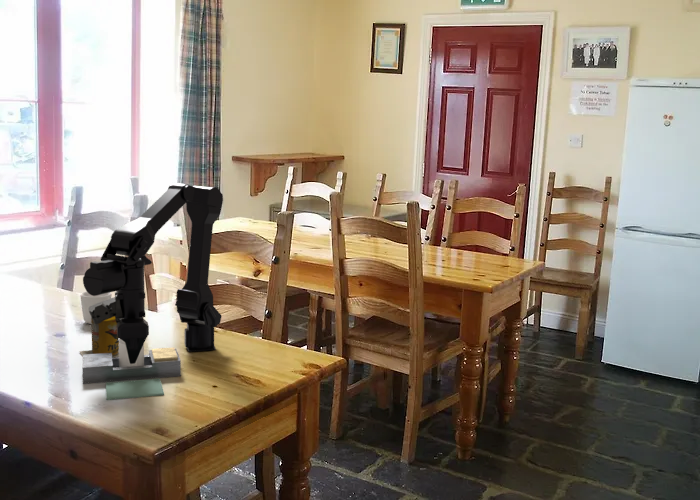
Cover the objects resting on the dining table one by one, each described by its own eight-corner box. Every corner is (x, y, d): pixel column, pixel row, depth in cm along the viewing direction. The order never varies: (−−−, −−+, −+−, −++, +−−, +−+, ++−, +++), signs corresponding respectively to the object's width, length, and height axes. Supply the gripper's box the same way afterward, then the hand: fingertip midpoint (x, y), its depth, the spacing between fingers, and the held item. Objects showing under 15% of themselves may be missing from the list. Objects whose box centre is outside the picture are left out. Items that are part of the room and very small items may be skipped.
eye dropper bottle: (126, 378, 155) (125, 324, 153) (117, 370, 160) (116, 318, 158) (146, 375, 158) (145, 321, 156) (137, 367, 162) (136, 315, 160)
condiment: (124, 356, 170) (123, 306, 168) (86, 361, 166) (85, 310, 164) (115, 347, 176) (114, 299, 174) (79, 352, 171) (77, 303, 170)
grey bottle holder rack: (176, 363, 166) (176, 346, 166) (180, 376, 158) (180, 358, 157) (83, 369, 160) (82, 351, 159) (82, 383, 151) (82, 364, 151)
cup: (125, 323, 197) (124, 294, 196) (101, 329, 191) (100, 300, 189) (99, 316, 203) (98, 288, 202) (74, 322, 196) (73, 293, 195)
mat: (160, 380, 155) (159, 378, 155) (164, 395, 147) (164, 393, 147) (105, 384, 151) (105, 382, 151) (106, 399, 143) (106, 398, 143)
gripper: (90, 279, 162) (92, 347, 164) (90, 298, 144) (92, 374, 147) (142, 277, 165) (143, 344, 168) (148, 296, 148) (149, 369, 151)
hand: (131, 357), depth 158 cm, fingers closed on eye dropper bottle, 8 cm apart
